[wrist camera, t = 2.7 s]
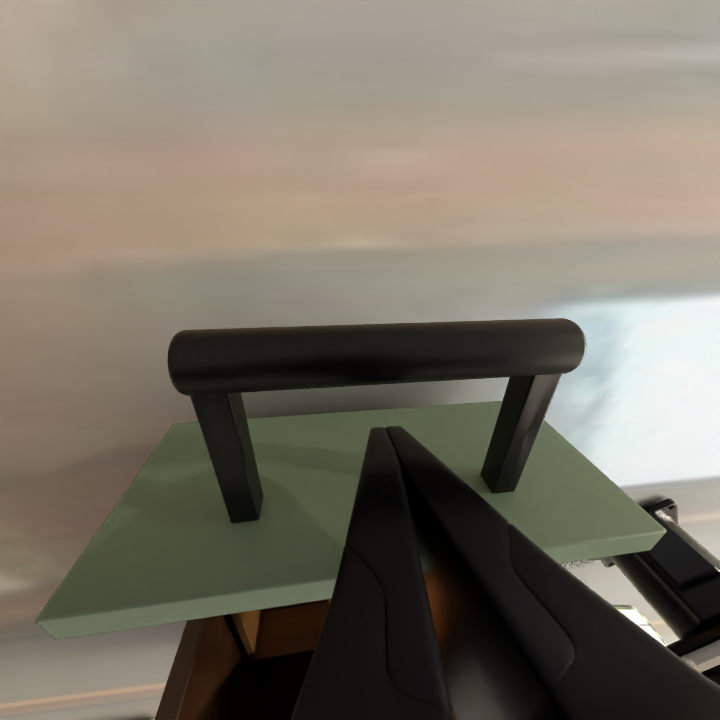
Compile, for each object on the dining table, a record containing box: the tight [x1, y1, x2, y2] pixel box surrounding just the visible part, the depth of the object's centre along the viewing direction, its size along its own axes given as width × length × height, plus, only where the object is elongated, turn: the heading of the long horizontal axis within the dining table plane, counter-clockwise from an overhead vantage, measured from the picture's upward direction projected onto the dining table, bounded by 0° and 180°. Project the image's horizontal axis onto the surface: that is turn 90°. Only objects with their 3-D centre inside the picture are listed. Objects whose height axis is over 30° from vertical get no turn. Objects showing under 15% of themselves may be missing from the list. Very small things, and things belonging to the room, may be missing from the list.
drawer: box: [35, 318, 666, 663], centre depth 12 cm, size 22×16×6 cm
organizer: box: [155, 614, 457, 720], centre depth 17 cm, size 16×16×9 cm
